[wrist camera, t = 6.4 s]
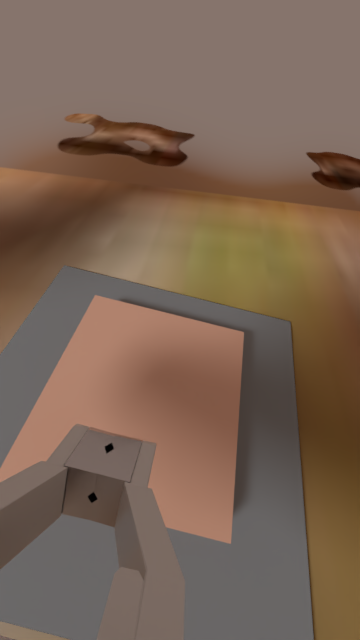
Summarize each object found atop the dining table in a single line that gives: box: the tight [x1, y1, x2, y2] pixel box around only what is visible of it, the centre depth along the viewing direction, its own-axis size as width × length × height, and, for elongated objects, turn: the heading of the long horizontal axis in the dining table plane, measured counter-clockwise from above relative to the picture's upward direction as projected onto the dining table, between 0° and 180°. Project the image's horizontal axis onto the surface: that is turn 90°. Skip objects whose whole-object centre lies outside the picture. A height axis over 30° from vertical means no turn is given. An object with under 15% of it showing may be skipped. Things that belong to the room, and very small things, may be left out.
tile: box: [0, 295, 244, 544], centre depth 17 cm, size 2×14×14 cm
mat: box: [0, 265, 314, 640], centre depth 18 cm, size 24×26×1 cm
